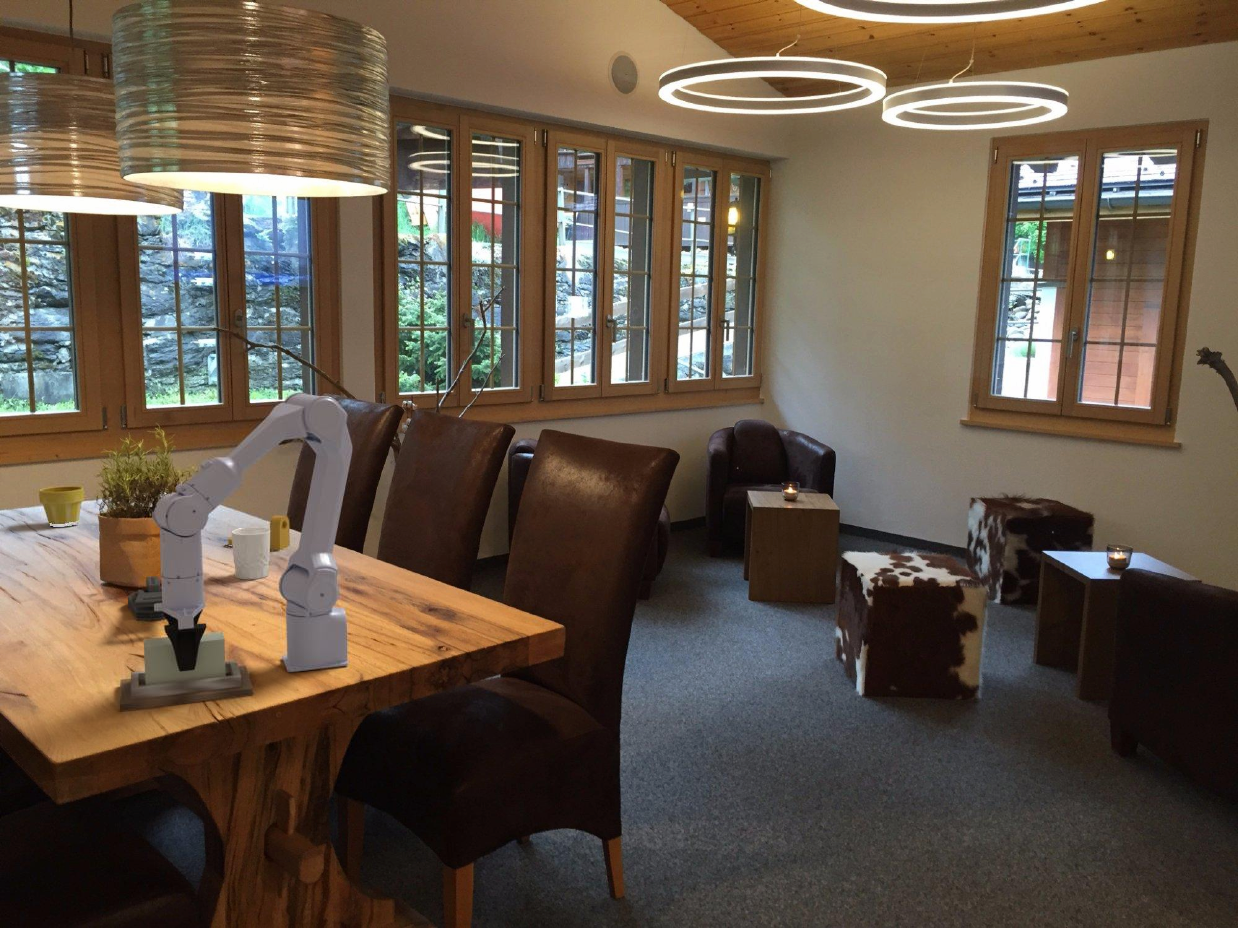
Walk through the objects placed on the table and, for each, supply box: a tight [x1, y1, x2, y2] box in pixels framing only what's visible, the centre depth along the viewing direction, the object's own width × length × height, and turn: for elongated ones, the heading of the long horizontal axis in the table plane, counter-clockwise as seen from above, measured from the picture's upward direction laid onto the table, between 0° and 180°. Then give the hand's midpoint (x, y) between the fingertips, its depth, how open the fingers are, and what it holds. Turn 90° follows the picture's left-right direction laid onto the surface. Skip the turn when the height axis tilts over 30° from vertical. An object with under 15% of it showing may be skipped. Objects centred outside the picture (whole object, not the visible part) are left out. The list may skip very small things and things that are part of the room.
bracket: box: [227, 515, 291, 551], centre depth 249 cm, size 15×4×8 cm, turn 77°
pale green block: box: [143, 631, 226, 686], centre depth 154 cm, size 11×4×7 cm, turn 115°
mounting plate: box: [119, 660, 254, 712], centre depth 154 cm, size 18×11×2 cm, turn 115°
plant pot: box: [38, 485, 85, 524], centre depth 268 cm, size 10×10×10 cm
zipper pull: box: [127, 575, 166, 622], centre depth 191 cm, size 9×7×25 cm
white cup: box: [231, 526, 271, 581], centre depth 222 cm, size 8×8×10 cm
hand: (185, 662), depth 154 cm, fingers open, 7 cm apart
